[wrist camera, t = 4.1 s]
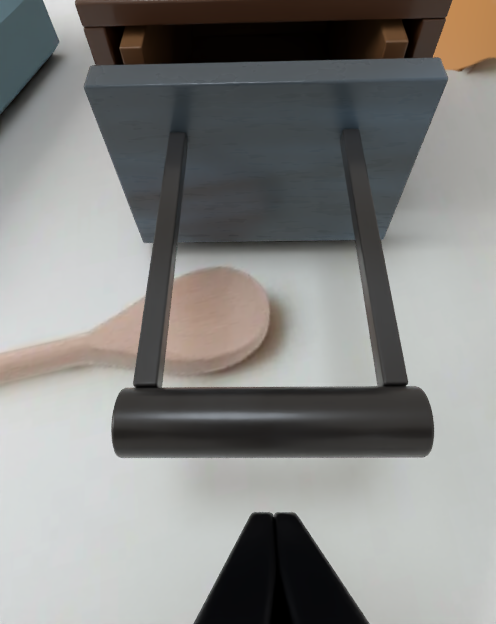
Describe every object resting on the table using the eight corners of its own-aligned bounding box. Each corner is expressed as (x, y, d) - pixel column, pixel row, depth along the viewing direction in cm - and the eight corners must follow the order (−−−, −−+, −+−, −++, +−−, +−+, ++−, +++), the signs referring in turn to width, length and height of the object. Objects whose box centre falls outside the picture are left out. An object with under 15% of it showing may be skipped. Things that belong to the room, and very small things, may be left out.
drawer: (432, 487, 14) (589, 436, 8) (104, 487, 15) (-32, 438, 8) (344, 44, 28) (372, -119, 21) (174, 48, 28) (146, -112, 21)
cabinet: (381, 203, 22) (456, -8, 14) (143, 206, 22) (73, 2, 14) (344, 24, 30) (376, -173, 22) (173, 28, 31) (141, -165, 22)
